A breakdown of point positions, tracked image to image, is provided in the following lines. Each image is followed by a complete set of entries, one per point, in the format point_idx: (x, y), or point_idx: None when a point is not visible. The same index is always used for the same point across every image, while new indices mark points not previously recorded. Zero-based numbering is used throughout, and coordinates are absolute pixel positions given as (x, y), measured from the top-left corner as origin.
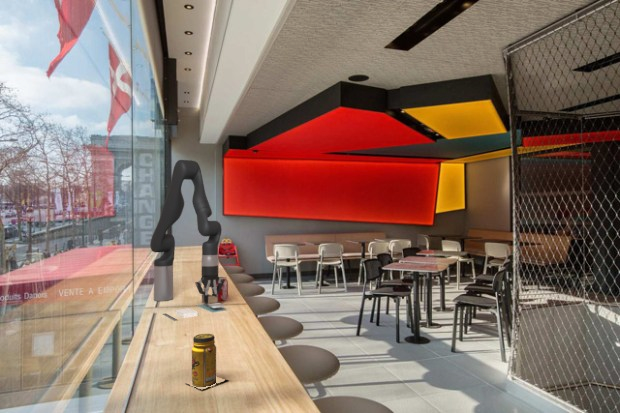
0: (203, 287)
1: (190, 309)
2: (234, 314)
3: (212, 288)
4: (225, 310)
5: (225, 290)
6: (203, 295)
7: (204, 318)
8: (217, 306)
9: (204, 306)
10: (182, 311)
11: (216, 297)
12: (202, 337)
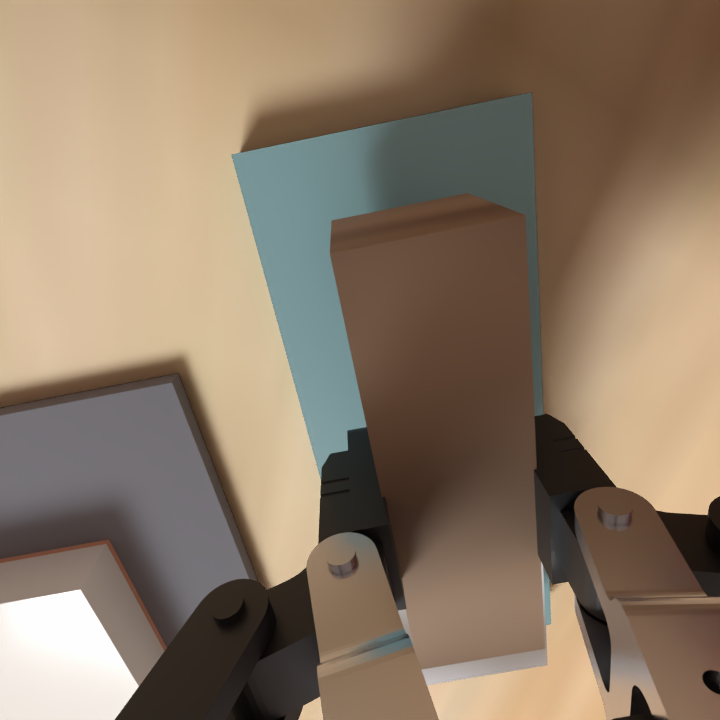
0: (322, 704)
1: (99, 656)
2: (558, 679)
3: (616, 673)
4: None
5: None
6: (354, 367)
7: None
8: (448, 671)
9: None
10: (1, 705)
11: (530, 646)
12: None
